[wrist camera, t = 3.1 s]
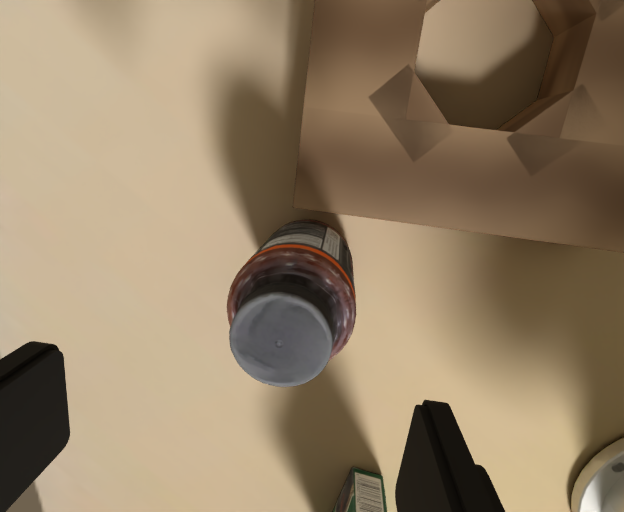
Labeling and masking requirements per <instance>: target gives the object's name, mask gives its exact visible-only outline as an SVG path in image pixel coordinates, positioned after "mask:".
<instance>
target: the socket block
mask: <svg viewBox="0 0 624 512" xmlns="http://www.w3.org/2000/svg"><path fill="white" fill-rule="evenodd" d="M438 1H440V0H315V5H314V14H313V24H312V33H311V42H310V52H309V61H308V70H307V79H306V89H305V98H304V107H303V117H302V126H301V135H300V145H299V154H298V163H297V172H296V182H295V191H294V200H293V208H300V209H307V210H315V211H322V212H329V213H337V214H344V215H351V216H359V217H366V218H374V219H381V220H388V221H396V222H403V223H410V224H418V225H425V226H432V227H440V228H447V229H455V230H462V231H469V232H477V233H484V234H491V235H499V236H506V237H514V238H521V239H528V240H536V241H543V242H550V243H558V244H565V245H572V246H580V247H587V248H595V249H602V250H609V251H617V252H624V0H533V2H534V4H535V5H536V7H537V9H538V11H539V12H540V14H541V16H542V17H543V19H544V21H545V23H546V24H547V26H548V28H549V29H550V31H551V33H552V34H553V36H554V39H553V43H552V47H551V50H550V54H549V58H548V61H547V65H546V69H545V72H544V76H543V80H542V83H541V87H540V91H539V94H538V98H537V101H535V102H534V103H533V104H531V105H530V106H528V107H527V108H526V109H524V110H523V111H522V112H520V113H519V114H517V115H516V116H515V117H513V118H512V119H510V120H509V121H508V122H506V123H505V124H504V125H502V126H501V127H499V128H498V129H497V130H490V129H482V128H473V127H465V126H457V125H449V123H448V122H447V120H446V119H445V117H444V116H443V114H442V113H441V111H440V110H439V108H438V107H437V105H436V104H435V102H434V101H433V99H432V98H431V96H430V95H429V93H428V92H427V90H426V89H425V87H424V86H423V84H422V83H421V81H420V80H419V78H418V77H417V75H416V74H415V72H414V69H415V63H416V58H417V52H418V47H419V41H420V36H421V30H422V25H423V19H424V14H425V13H426V12H427V11H428V10H429V9H430V8H431V7H433V6H434V5H435V4H436V3H437V2H438Z"/></svg>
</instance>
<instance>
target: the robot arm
mask: <svg viewBox="0 0 624 512" xmlns="http://www.w3.org/2000/svg"><path fill="white" fill-rule="evenodd" d="M69 436H70V427H69V415H68V404H67V392H66V380H65V369H64V357H63V354H62V352H60V351H59V349H58V347H57V346H56V345H54V344H48V343H41V342H35V341H33V342H29V343H26V344H25V345H23V346H21V347H20V348H18V349H17V350H15V351H13V352H12V353H10V354H8V355H7V356H5V357H4V358H2V359H0V512H6V511H7V509H8V508H9V507H10V506H11V505H12V504H13V503H14V502H15V501H16V500H17V499H18V498H19V496H20V495H21V494H22V493H23V492H24V491H25V490H26V489H27V488H28V487H29V485H31V483H32V482H33V481H34V480H35V479H36V478H37V477H38V476H39V475H40V474H41V473H42V472H43V470H44V469H45V468H46V467H47V466H48V465H49V464H50V463H51V462H52V461H53V460H54V459H55V457H56V456H57V455H58V454H59V453H60V452H61V451H62V450H63V449H64V447H65V446H66V444H67V442H68V440H69ZM395 498H396V506H397V512H505V510H504V508H503V506H502V504H501V502H500V499H499V497H498V495H497V493H496V491H495V488H494V486H493V484H492V482H491V480H490V478H489V475H488V474H487V472H486V470H485V469H484V468H483V467H482V466H481V465H475V463H474V461H473V459H472V456H471V454H470V452H469V449H468V447H467V445H466V442H465V440H464V438H463V435H462V433H461V431H460V428H459V426H458V424H457V422H456V419H455V417H454V415H453V412H452V410H451V408H450V406H449V404H447V403H443V402H437V401H430V400H424V402H423V404H422V405H416V406H415V409H414V413H413V417H412V421H411V425H410V429H409V433H408V438H407V442H406V446H405V450H404V454H403V458H402V462H401V466H400V471H399V475H398V479H397V483H396V490H395ZM571 509H572V512H624V438H622V439H619V440H618V441H616V442H614V443H613V444H611V445H609V446H607V447H606V448H604V449H603V450H602V451H601V452H599V453H598V454H597V455H596V456H595V457H593V458H592V459H591V460H590V462H589V463H588V464H587V465H586V466H585V467H584V469H583V470H582V471H581V473H580V475H579V477H578V479H577V481H576V482H575V485H574V489H573V492H572V497H571Z"/></svg>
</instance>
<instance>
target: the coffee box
mask: <svg viewBox="0 0 624 512" xmlns="http://www.w3.org/2000/svg"><path fill="white" fill-rule="evenodd" d="M333 512H387V506H386V496H385V489H384V483H383V477H382V476H381V475H378V474H374V473H371V472H367V471H364V470H361V469H358V468H355V467H352V468H351V471H350V473H349V476H348V478H347V480H346V482H345V485H344V487H343V489H342V491H341V494H340V496H339V498H338V500H337V503H336V505H335V507H334V510H333Z"/></svg>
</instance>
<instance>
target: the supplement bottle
mask: <svg viewBox="0 0 624 512" xmlns="http://www.w3.org/2000/svg"><path fill="white" fill-rule="evenodd" d="M355 297H356V296H355V286H354V278H353V262H352V256H351V253H350V250H349V248H348V245H347V243H346V241H345V240H344V239H343V237H342V236H341V235H340V234H339V233H338V232H337V231H336V230H335V229H333V228H332V227H330V226H329V225H327V224H325V223H322V222H319V221H315V220H299V221H294V222H291V223H289V224H286V225H284V226H283V227H281V228H280V229H279V230H277V231H276V232H275V233H274V234H273V235H272V236H271V237H270V238H269V239H268V240H267V241H266V242H265V243H264V244H263V245H262V247H260V249H259V250H258V251H257V252H256V253H255V254H254V255H253V256H252V257H251V258H250V259H249V260H248V262H247V263H246V264H245V265H244V266H243V267H242V268H241V270H240V271H239V272H238V274H237V275H236V277H235V279H234V281H233V283H232V285H231V288H230V291H229V295H228V301H227V314H228V320H229V324H230V347H231V350H232V353H233V355H234V357H235V359H236V361H237V362H238V364H239V365H240V366H241V367H242V369H243V370H244V371H245V372H247V373H248V374H249V375H250V376H251V377H253V378H254V379H256V380H258V381H260V382H262V383H265V384H269V385H273V386H278V387H290V386H297V385H300V384H304V383H306V382H308V381H310V380H312V379H313V378H314V377H316V376H317V375H318V374H319V373H320V372H321V371H322V370H323V369H324V367H325V366H326V364H327V363H328V361H329V360H330V359H332V358H333V357H334V356H335V355H337V354H338V353H339V352H340V351H341V350H342V349H343V347H344V346H345V345H346V343H347V342H348V340H349V338H350V336H351V335H352V332H353V328H354V324H355V318H356V302H355Z"/></svg>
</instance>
